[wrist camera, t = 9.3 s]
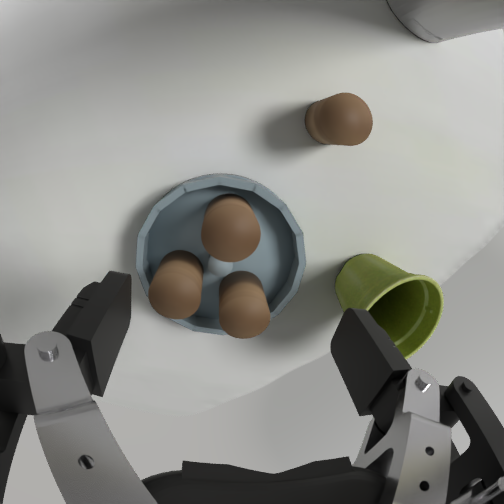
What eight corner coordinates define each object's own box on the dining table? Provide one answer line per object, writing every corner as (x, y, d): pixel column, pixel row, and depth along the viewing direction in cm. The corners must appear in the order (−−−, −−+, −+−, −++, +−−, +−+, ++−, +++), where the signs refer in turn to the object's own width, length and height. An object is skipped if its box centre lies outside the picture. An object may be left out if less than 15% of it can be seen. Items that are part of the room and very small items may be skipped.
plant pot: (328, 329, 30) (357, 384, 22) (308, 257, 26) (343, 307, 18) (398, 296, 29) (439, 340, 21) (390, 224, 26) (445, 258, 18)
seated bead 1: (161, 246, 23) (149, 269, 19) (206, 254, 24) (204, 278, 20) (157, 286, 24) (147, 314, 20) (200, 293, 25) (197, 323, 21)
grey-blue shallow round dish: (153, 161, 21) (145, 163, 19) (316, 192, 24) (326, 198, 21) (139, 306, 26) (133, 321, 24) (276, 326, 29) (280, 341, 26)
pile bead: (310, 94, 20) (329, 85, 16) (351, 108, 21) (376, 104, 17) (300, 137, 22) (317, 136, 18) (342, 149, 23) (366, 152, 18)
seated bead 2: (222, 267, 24) (223, 293, 20) (267, 274, 25) (276, 300, 21) (215, 305, 26) (215, 335, 22) (257, 310, 26) (263, 340, 22)
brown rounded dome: (209, 189, 22) (206, 200, 18) (258, 198, 22) (266, 211, 18) (200, 236, 23) (196, 257, 19) (247, 244, 24) (253, 266, 20)
